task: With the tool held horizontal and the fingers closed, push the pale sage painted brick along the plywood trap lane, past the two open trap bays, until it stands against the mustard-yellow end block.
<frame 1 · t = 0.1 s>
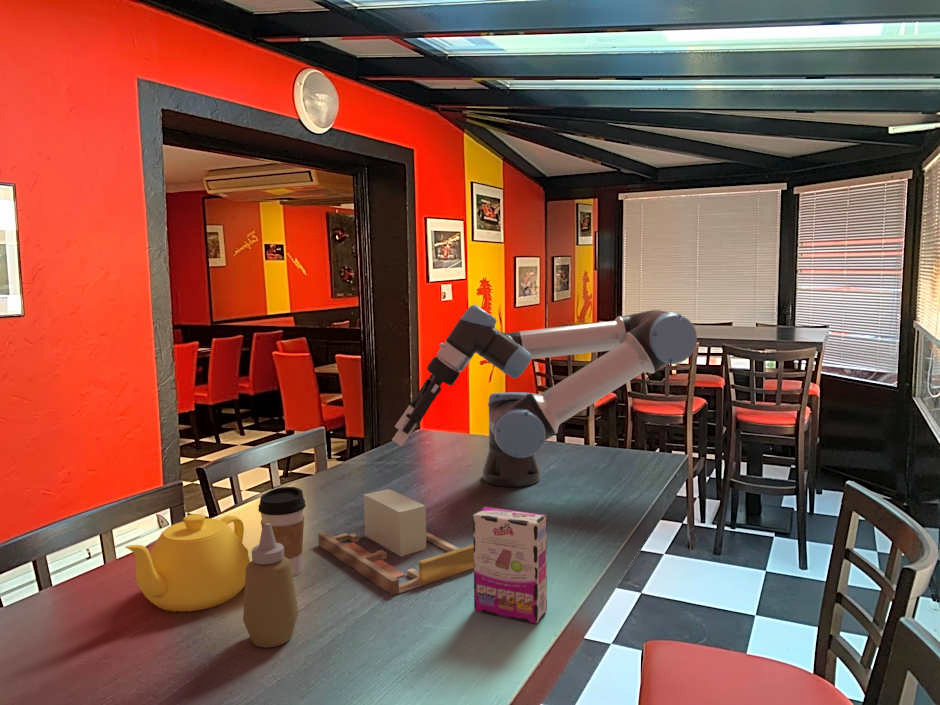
hand: (397, 436, 171), 15 cm above the table, tool tilted 35°, fingers open, 13 cm apart
teapot: (193, 595, 123), on the table
coffee cup: (285, 572, 131), on the table
brick: (394, 542, 145), on the table
squeeze bottle: (272, 639, 108), on the table
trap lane: (410, 550, 140), on the table
candy bar box: (510, 612, 115), on the table
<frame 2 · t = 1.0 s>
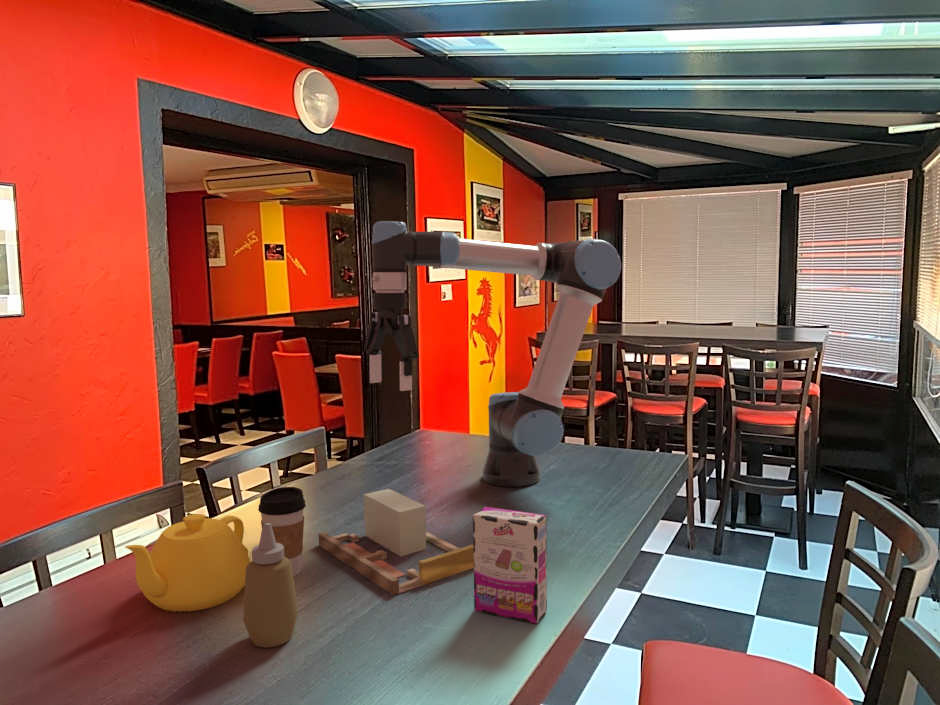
hand: (390, 386, 161), 29 cm above the table, tool pointing down, fingers open, 12 cm apart
nothing on the table moved.
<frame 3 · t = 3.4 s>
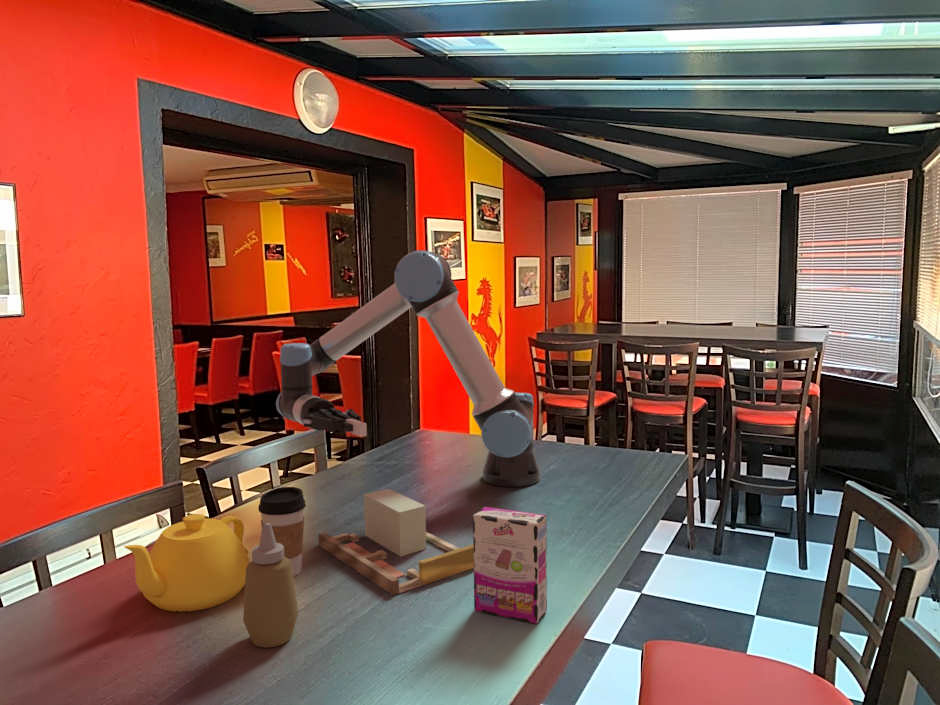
hand: (363, 430, 151), 21 cm above the table, tool horizontal, fingers closed
nothing on the table moved.
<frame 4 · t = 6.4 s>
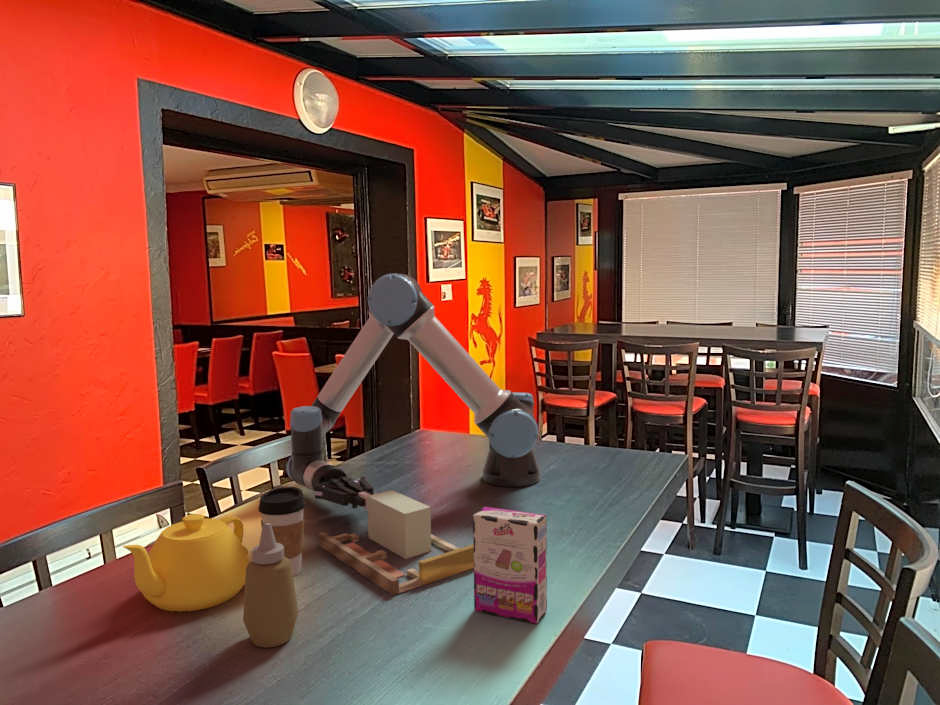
hand: (376, 505, 148), 6 cm above the table, tool horizontal, fingers closed
brick: (399, 544, 144), on the table
everything else where it was.
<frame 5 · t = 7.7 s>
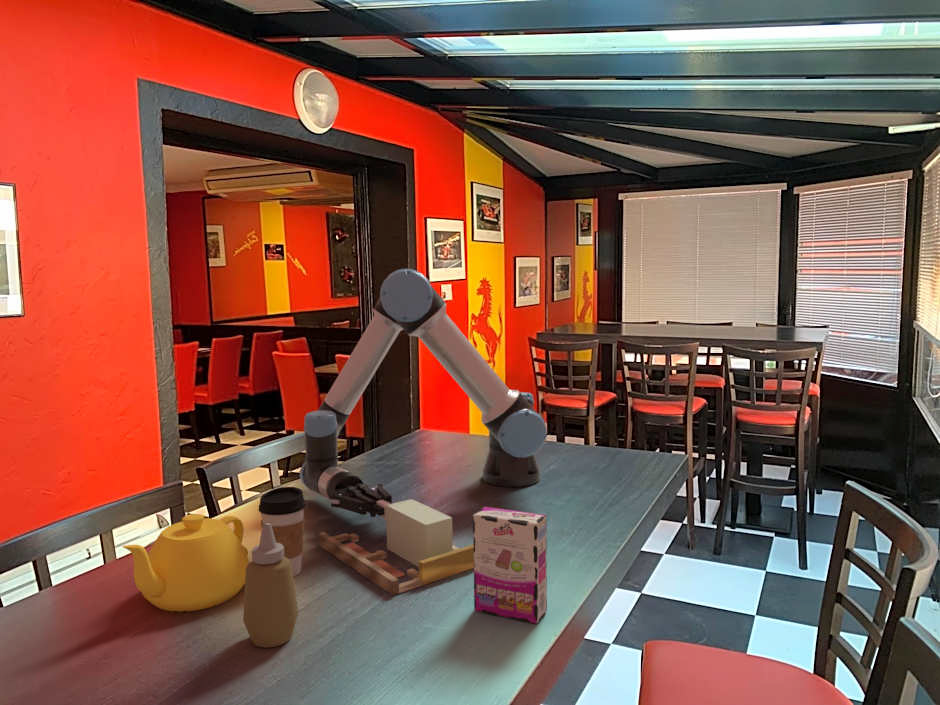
hand: (396, 515, 143), 6 cm above the table, tool horizontal, fingers closed
brick: (419, 555, 138), on the table, touching gripper
everything else where it was.
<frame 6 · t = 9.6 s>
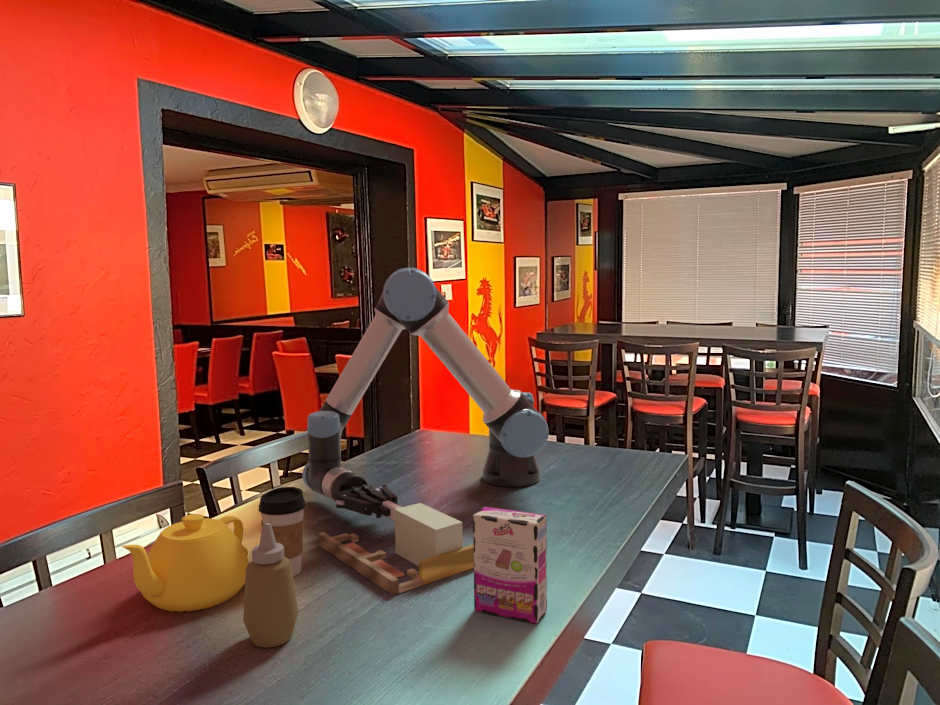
hand: (402, 515, 142), 6 cm above the table, tool horizontal, fingers closed
brick: (428, 560, 136), on the table
everything else where it was.
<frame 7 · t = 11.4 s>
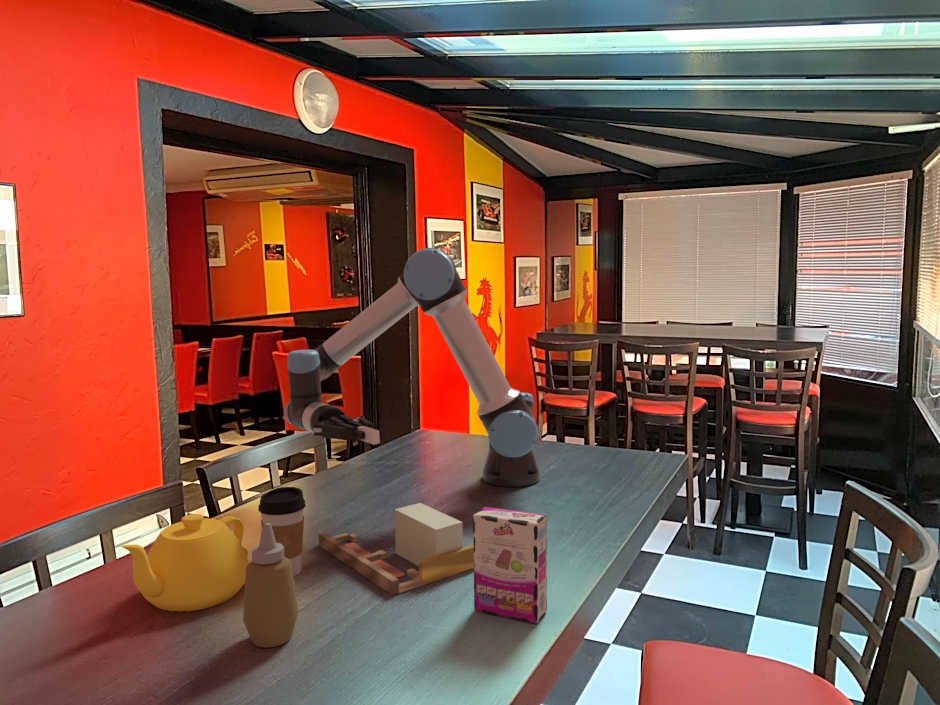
hand: (376, 437, 147), 21 cm above the table, tool horizontal, fingers closed
nothing on the table moved.
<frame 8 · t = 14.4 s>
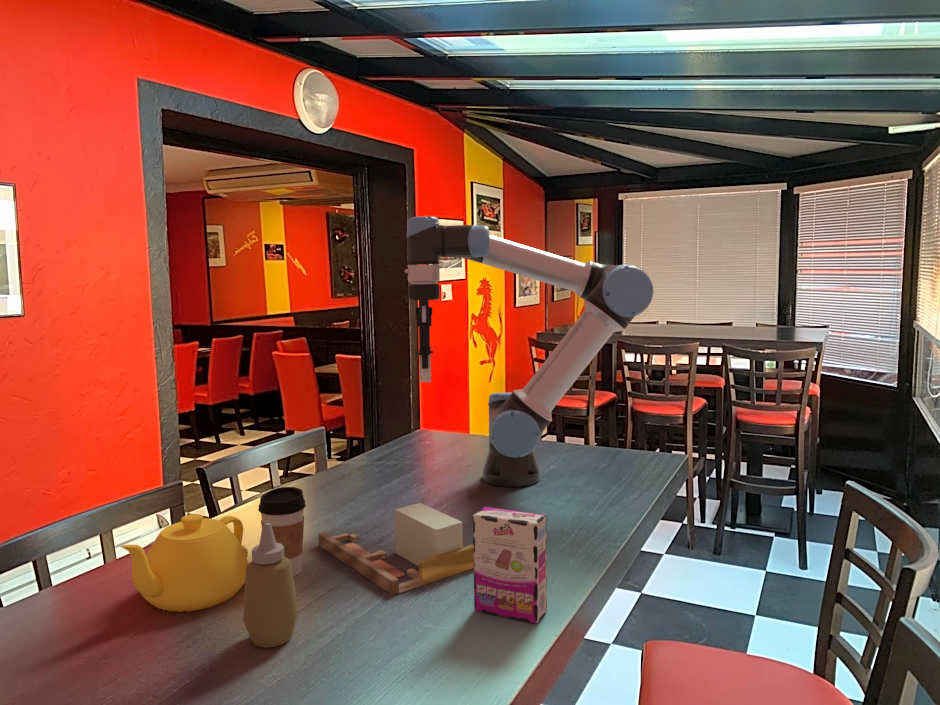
hand: (425, 381, 171), 28 cm above the table, tool pointing down, fingers closed
nothing on the table moved.
at the end: brick inside the target area (1.3 cm from its centre), on the table; brick tilted 0° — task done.
